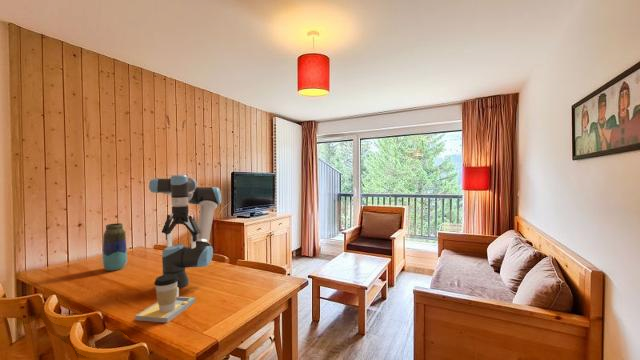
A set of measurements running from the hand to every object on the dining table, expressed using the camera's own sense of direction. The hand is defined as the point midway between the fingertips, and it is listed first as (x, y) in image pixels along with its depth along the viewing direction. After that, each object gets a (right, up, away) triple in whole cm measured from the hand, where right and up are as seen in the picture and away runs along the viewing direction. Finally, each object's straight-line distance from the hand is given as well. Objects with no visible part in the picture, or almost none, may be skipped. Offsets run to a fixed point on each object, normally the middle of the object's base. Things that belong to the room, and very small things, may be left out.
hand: (181, 247), depth 137 cm
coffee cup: (0, -26, -12) cm, 29 cm away
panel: (-3, -28, -8) cm, 29 cm away
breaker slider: (-4, -25, 0) cm, 26 cm away
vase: (-73, -28, +52) cm, 94 cm away
